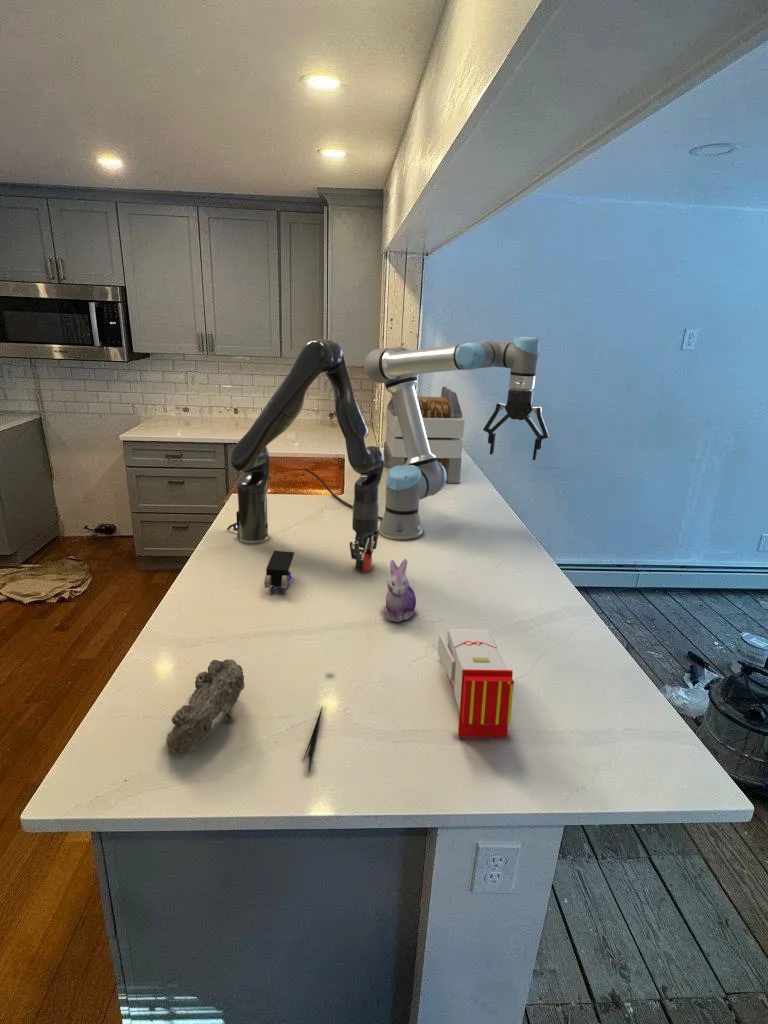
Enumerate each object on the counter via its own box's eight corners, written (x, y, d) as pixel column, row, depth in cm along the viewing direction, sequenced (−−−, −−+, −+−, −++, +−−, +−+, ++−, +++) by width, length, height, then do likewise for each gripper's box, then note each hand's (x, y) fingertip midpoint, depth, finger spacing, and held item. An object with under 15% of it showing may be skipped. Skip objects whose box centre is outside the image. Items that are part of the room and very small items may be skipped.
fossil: (192, 660, 117) (244, 628, 112) (224, 691, 120) (276, 661, 115) (142, 746, 98) (202, 712, 93) (182, 779, 101) (242, 748, 96)
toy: (488, 613, 130) (523, 677, 101) (484, 667, 133) (517, 744, 104) (435, 612, 130) (455, 676, 101) (432, 666, 133) (451, 743, 103)
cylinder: (353, 567, 173) (353, 555, 171) (366, 564, 175) (366, 552, 174) (360, 573, 169) (361, 560, 168) (373, 570, 172) (374, 558, 170)
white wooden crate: (382, 463, 289) (386, 382, 275) (445, 464, 293) (451, 384, 279) (390, 482, 257) (394, 392, 243) (460, 483, 261) (468, 394, 247)
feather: (331, 679, 122) (336, 673, 122) (307, 777, 96) (313, 769, 95) (324, 675, 122) (329, 669, 121) (298, 772, 95) (304, 764, 95)
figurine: (392, 627, 141) (395, 572, 136) (374, 608, 149) (376, 556, 144) (425, 619, 145) (429, 566, 140) (405, 601, 154) (408, 550, 149)
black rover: (288, 601, 154) (295, 571, 167) (287, 577, 151) (294, 549, 164) (263, 600, 154) (272, 570, 167) (262, 576, 150) (271, 548, 164)
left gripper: (366, 505, 174) (364, 556, 180) (341, 518, 162) (340, 573, 168) (387, 510, 171) (385, 561, 176) (364, 524, 159) (362, 579, 164)
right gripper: (478, 387, 175) (471, 453, 183) (561, 394, 167) (551, 464, 174) (483, 384, 182) (477, 449, 189) (563, 391, 174) (553, 458, 181)
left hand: (363, 567), depth 172 cm, fingers closed on cylinder, 4 cm apart
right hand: (512, 456), depth 182 cm, fingers open, 13 cm apart
